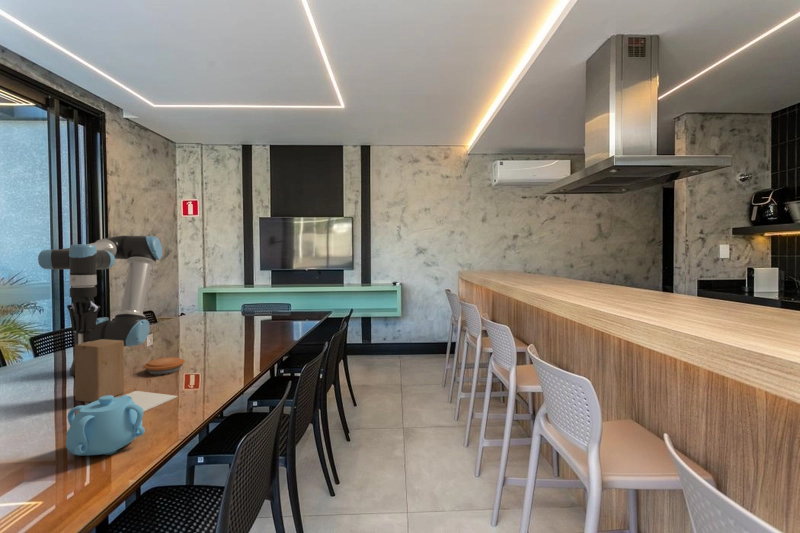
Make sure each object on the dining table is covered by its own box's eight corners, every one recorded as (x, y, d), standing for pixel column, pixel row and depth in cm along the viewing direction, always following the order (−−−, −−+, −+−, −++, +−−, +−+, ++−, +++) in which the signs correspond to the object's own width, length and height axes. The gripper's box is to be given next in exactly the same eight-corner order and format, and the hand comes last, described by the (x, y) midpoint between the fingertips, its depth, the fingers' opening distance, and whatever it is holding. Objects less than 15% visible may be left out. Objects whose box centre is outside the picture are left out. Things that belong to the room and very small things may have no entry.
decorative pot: (147, 448, 99) (147, 398, 99) (66, 471, 88) (66, 414, 88) (138, 427, 111) (138, 382, 111) (66, 445, 100) (66, 395, 100)
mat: (136, 391, 139) (136, 390, 139) (177, 397, 135) (177, 395, 135) (94, 407, 125) (94, 406, 125) (139, 413, 120) (139, 412, 120)
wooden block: (97, 403, 128) (97, 346, 128) (74, 401, 130) (74, 344, 130) (124, 393, 138) (124, 340, 137) (102, 391, 140) (102, 338, 139)
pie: (192, 367, 171) (192, 356, 171) (166, 377, 156) (166, 366, 156) (163, 365, 174) (163, 354, 174) (134, 375, 159) (134, 364, 159)
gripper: (58, 286, 133) (59, 351, 133) (85, 287, 129) (86, 354, 130) (81, 285, 140) (81, 347, 141) (107, 286, 137) (108, 349, 137)
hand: (83, 350), depth 135 cm, fingers closed
